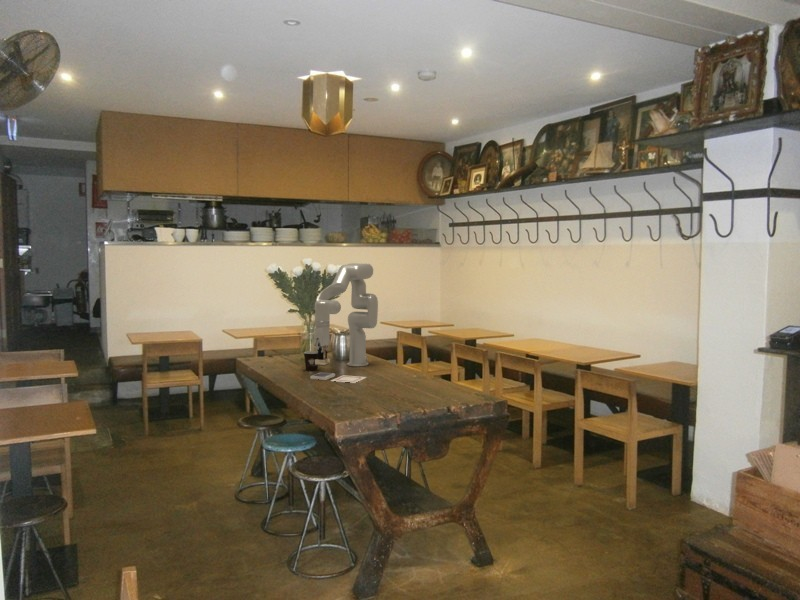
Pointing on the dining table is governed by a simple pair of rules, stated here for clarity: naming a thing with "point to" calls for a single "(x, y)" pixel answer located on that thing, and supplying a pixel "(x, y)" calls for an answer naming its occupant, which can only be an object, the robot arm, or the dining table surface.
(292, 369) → the dining table surface
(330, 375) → the ink pad
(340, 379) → the paper sheet
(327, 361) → the stamp
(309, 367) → the coffee mug
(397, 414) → the dining table surface
